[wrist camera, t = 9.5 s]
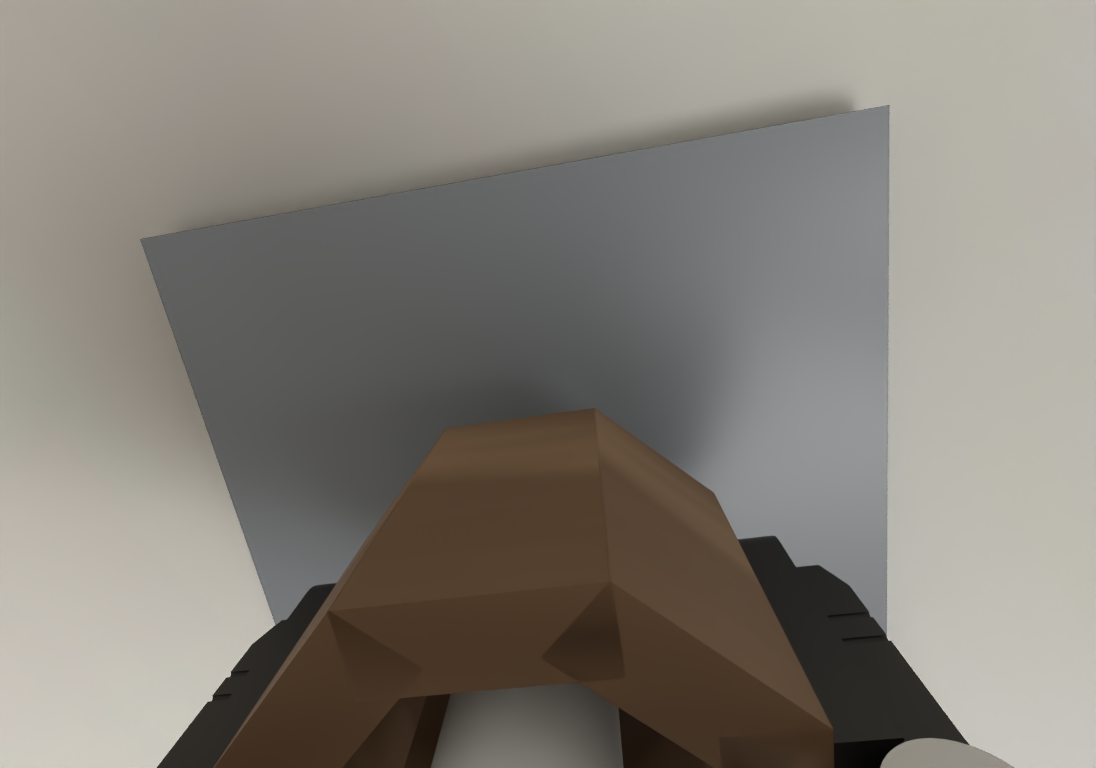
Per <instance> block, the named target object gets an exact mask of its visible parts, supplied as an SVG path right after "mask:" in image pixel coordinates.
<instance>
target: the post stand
mask: <svg viewBox="0 0 1096 768" xmlns="http://www.w3.org/2000/svg"><path fill="white" fill-rule="evenodd" d="M140 240H141V243H142V246H143V248H144V251H145V254H146V257H147V260H148V263H149V266H150V268H151V271H152V274H153V277H154V280H155V283H156V285H157V288H158V291H159V294H160V297H161V300H162V303H163V305H164V308H165V311H166V314H167V317H168V320H169V322H170V325H171V328H172V331H173V334H174V337H175V340H176V342H177V345H178V348H179V351H180V354H181V357H182V360H183V362H184V365H185V368H186V371H187V374H188V377H189V379H190V382H191V385H192V388H193V391H194V394H195V397H196V399H197V402H198V405H199V408H200V411H201V414H202V416H203V419H204V422H205V425H206V428H207V431H208V434H209V436H210V439H211V442H212V445H213V448H214V451H215V454H216V456H217V459H218V462H219V465H220V468H221V471H222V473H223V476H224V479H225V482H226V485H227V488H228V491H229V493H230V496H231V499H232V502H233V505H234V508H235V510H236V513H237V516H238V519H239V522H240V525H241V528H242V530H243V533H244V536H245V539H246V542H247V545H248V548H249V550H250V553H251V556H252V559H253V562H254V565H255V567H256V570H257V573H258V576H259V579H260V582H261V585H262V587H263V590H264V593H265V596H266V599H267V602H268V605H269V607H270V610H271V613H272V616H273V619H274V622H275V624H276V625H277V624H278V623H279V622H280V621H281V620H287V619H288V617H289V616H290V615H291V613H292V612H293V611H294V609H295V608H296V607H297V605H298V604H299V602H300V601H301V600H302V598H303V597H304V596H305V594H306V593H307V592H308V590H309V589H310V588H311V587H313V586H315V585H322V584H331V583H337V582H338V581H339V579H340V578H341V576H342V575H343V573H344V572H345V570H346V569H347V567H348V566H349V564H350V563H351V561H352V560H353V558H354V557H355V555H356V554H357V552H358V551H359V549H360V548H361V546H362V545H363V543H364V542H365V540H366V539H367V537H368V536H369V534H370V533H371V532H372V531H373V529H374V528H375V526H376V525H377V524H378V522H379V521H380V519H381V518H382V517H383V515H384V514H385V512H386V511H387V510H388V508H389V507H390V505H391V504H392V503H393V501H394V500H395V498H396V497H397V496H398V494H399V493H400V491H401V490H402V489H403V487H404V486H405V484H406V483H407V482H408V480H409V479H410V477H411V476H412V475H413V473H414V472H415V470H416V469H417V468H418V466H419V465H420V464H421V462H422V461H423V459H424V458H425V457H426V455H427V454H428V452H429V451H430V450H431V448H432V447H433V445H434V444H435V443H436V441H437V440H438V438H439V437H440V436H441V434H442V433H443V431H444V430H445V428H451V427H458V426H466V425H473V424H481V423H488V422H495V421H503V420H510V419H517V418H525V417H532V416H540V415H547V414H554V413H562V412H569V411H576V410H584V409H591V408H596V409H597V410H598V411H600V412H601V413H603V414H604V415H605V416H607V417H608V418H610V419H611V420H612V421H614V422H615V423H617V424H618V425H619V426H621V427H622V428H624V429H625V430H627V431H628V432H629V433H631V434H632V435H634V436H635V437H636V438H638V439H639V440H641V441H642V442H643V443H645V444H646V445H648V446H649V447H650V448H652V449H653V450H655V451H656V452H657V453H659V454H660V455H662V456H663V457H665V458H666V459H667V460H669V461H670V462H672V463H673V464H674V465H676V466H677V467H679V468H680V469H681V470H683V471H684V472H686V473H687V474H688V475H690V476H691V477H693V478H694V479H695V480H697V481H698V482H700V483H701V484H702V485H704V486H705V487H707V488H708V489H710V490H711V491H712V492H714V494H715V495H716V497H717V499H718V501H719V503H720V505H721V507H722V509H723V511H724V513H725V515H726V517H727V519H728V521H729V523H730V525H731V527H732V529H733V531H734V533H735V535H736V537H737V539H745V538H754V537H763V536H772V535H774V536H776V537H777V538H778V540H779V541H780V543H781V544H782V546H783V547H784V549H785V550H786V552H787V554H788V555H789V557H790V558H791V560H792V561H793V563H794V565H795V566H796V567H802V566H812V565H820V566H821V567H823V568H824V569H826V570H827V571H829V572H830V573H832V574H833V575H835V576H836V577H838V578H839V579H841V580H842V581H844V582H845V583H847V584H848V585H850V587H851V588H852V589H853V591H854V592H855V593H856V595H857V596H858V597H859V599H860V600H861V601H862V603H863V604H864V605H865V607H866V608H867V609H868V611H869V614H870V617H873V618H874V619H875V620H876V622H877V623H878V624H879V626H880V627H881V628H882V630H883V631H884V632H885V634H886V636H887V451H888V265H889V105H887V106H881V107H875V108H870V109H864V110H859V111H853V112H848V113H842V114H836V115H831V116H825V117H820V118H814V119H808V120H803V121H797V122H792V123H786V124H781V125H775V126H769V127H764V128H758V129H753V130H747V131H741V132H736V133H730V134H725V135H719V136H714V137H708V138H702V139H697V140H691V141H686V142H680V143H674V144H669V145H663V146H658V147H652V148H647V149H641V150H635V151H630V152H624V153H619V154H613V155H607V156H602V157H596V158H591V159H585V160H580V161H574V162H568V163H563V164H557V165H552V166H546V167H540V168H535V169H529V170H524V171H518V172H513V173H507V174H501V175H496V176H490V177H485V178H479V179H473V180H468V181H462V182H457V183H451V184H446V185H440V186H434V187H429V188H423V189H418V190H412V191H406V192H401V193H395V194H390V195H384V196H379V197H373V198H367V199H362V200H356V201H351V202H345V203H339V204H334V205H328V206H323V207H317V208H312V209H306V210H300V211H295V212H289V213H284V214H278V215H272V216H267V217H261V218H256V219H250V220H245V221H239V222H233V223H228V224H222V225H217V226H211V227H205V228H200V229H194V230H189V231H183V232H178V233H172V234H166V235H161V236H155V237H150V238H144V239H140ZM431 768H623V757H622V745H621V733H620V722H619V710H618V707H617V706H615V705H614V704H612V703H611V702H609V701H608V700H606V699H604V698H603V697H601V696H600V695H598V694H596V693H595V692H593V691H592V690H590V689H589V688H587V687H585V686H584V685H582V684H581V683H579V682H577V683H566V684H554V685H543V686H532V687H521V688H509V689H498V690H487V691H476V692H464V693H453V694H450V698H449V701H448V705H447V709H446V713H445V716H444V720H443V724H442V727H441V731H440V735H439V739H438V742H437V746H436V750H435V753H434V757H433V761H432V765H431Z"/></svg>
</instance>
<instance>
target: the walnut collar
mask: <svg viewBox="0 0 1096 768" xmlns="http://www.w3.org/2000/svg"><path fill="white" fill-rule="evenodd" d="M577 682H579V683H581V684H582V685H584V686H585V687H587V688H589V689H590V690H592V691H593V692H595V693H596V694H598V695H600V696H601V697H603V698H604V699H606V700H608V701H609V702H611V703H612V704H614V705H615V706H617V707H618V710H619V722H620V733H621V745H622V757H623V768H834V742H833V730H834V729H833V727H832V725H831V723H830V721H829V719H828V717H827V715H826V713H825V711H824V709H823V707H822V705H821V703H820V701H819V699H818V698H817V696H816V694H815V692H814V690H813V688H812V686H811V684H810V682H809V680H808V678H807V676H806V674H805V672H804V670H803V668H802V666H801V664H800V662H799V660H798V658H797V656H796V654H795V652H794V650H793V648H792V646H791V644H790V642H789V640H788V638H787V636H786V634H785V632H784V630H783V628H782V626H781V624H780V622H779V620H778V618H777V616H776V614H775V612H774V610H773V608H772V606H771V604H770V602H769V600H768V598H767V597H766V595H765V593H764V591H763V589H762V587H761V585H760V583H759V581H758V579H757V577H756V575H755V573H754V571H753V569H752V567H751V565H750V563H749V561H748V559H747V557H746V555H745V553H744V551H743V549H742V547H741V545H740V543H739V541H738V539H737V537H736V535H735V533H734V531H733V529H732V527H731V525H730V523H729V521H728V519H727V517H726V515H725V513H724V511H723V509H722V507H721V505H720V503H719V501H718V499H717V497H716V495H715V494H714V492H712V491H711V490H710V489H708V488H707V487H705V486H704V485H702V484H701V483H700V482H698V481H697V480H695V479H694V478H693V477H691V476H690V475H688V474H687V473H686V472H684V471H683V470H681V469H680V468H679V467H677V466H676V465H674V464H673V463H672V462H670V461H669V460H667V459H666V458H665V457H663V456H662V455H660V454H659V453H657V452H656V451H655V450H653V449H652V448H650V447H649V446H648V445H646V444H645V443H643V442H642V441H641V440H639V439H638V438H636V437H635V436H634V435H632V434H631V433H629V432H628V431H627V430H625V429H624V428H622V427H621V426H619V425H618V424H617V423H615V422H614V421H612V420H611V419H610V418H608V417H607V416H605V415H604V414H603V413H601V412H600V411H598V410H597V409H596V408H591V409H584V410H576V411H569V412H562V413H554V414H547V415H540V416H532V417H525V418H517V419H510V420H503V421H495V422H488V423H481V424H473V425H466V426H458V427H451V428H445V430H444V431H443V433H442V434H441V436H440V437H439V438H438V440H437V441H436V443H435V444H434V445H433V447H432V448H431V450H430V451H429V452H428V454H427V455H426V457H425V458H424V459H423V461H422V462H421V464H420V465H419V466H418V468H417V469H416V470H415V472H414V473H413V475H412V476H411V477H410V479H409V480H408V482H407V483H406V484H405V486H404V487H403V489H402V490H401V491H400V493H399V494H398V496H397V497H396V498H395V500H394V501H393V503H392V504H391V505H390V507H389V508H388V510H387V511H386V512H385V514H384V515H383V517H382V518H381V519H380V521H379V522H378V524H377V525H376V526H375V528H374V529H373V531H372V532H371V533H370V534H369V536H368V537H367V539H366V540H365V542H364V543H363V545H362V546H361V548H360V549H359V551H358V552H357V554H356V555H355V557H354V558H353V560H352V561H351V563H350V564H349V566H348V567H347V569H346V570H345V572H344V573H343V575H342V576H341V578H340V579H339V581H338V582H337V584H336V585H335V587H334V588H333V590H332V591H331V593H330V594H329V595H328V597H327V598H326V600H325V601H324V603H323V604H322V606H321V607H320V609H319V610H318V612H317V613H316V615H315V616H314V618H313V619H312V621H311V622H310V624H309V625H308V627H307V628H306V630H305V631H304V633H303V634H302V636H301V637H300V639H299V640H298V642H297V643H296V645H295V646H294V648H293V649H292V651H291V652H290V654H289V655H288V657H287V658H286V660H285V661H284V663H283V664H282V666H281V667H280V669H279V670H278V672H277V673H276V675H275V676H274V678H273V679H272V681H271V682H270V684H269V685H268V687H267V688H266V689H265V691H264V692H263V694H262V695H261V697H260V698H259V700H258V701H257V703H256V704H255V706H254V707H253V709H252V710H251V712H250V713H249V715H248V716H247V718H246V719H245V721H244V722H243V724H242V725H241V727H240V728H239V730H238V731H237V733H236V734H235V736H234V737H233V739H232V740H231V742H230V743H229V745H228V746H227V748H226V749H225V751H224V752H223V754H222V755H221V757H220V758H219V760H218V761H217V763H216V764H215V766H214V767H213V768H431V765H432V761H433V757H434V753H435V750H436V746H437V742H438V739H439V735H440V731H441V727H442V724H443V720H444V716H445V713H446V709H447V705H448V701H449V698H450V694H453V693H464V692H476V691H487V690H498V689H509V688H521V687H532V686H543V685H554V684H566V683H577Z"/></svg>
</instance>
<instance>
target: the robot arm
mask: <svg viewBox="0 0 1096 768" xmlns="http://www.w3.org/2000/svg"><path fill="white" fill-rule="evenodd" d="M738 541H739V543H740V545H741V547H742V549H743V551H744V553H745V555H746V557H747V559H748V561H749V563H750V565H751V567H752V569H753V571H754V573H755V575H756V577H757V579H758V581H759V583H760V585H761V587H762V589H763V591H764V593H765V595H766V597H767V598H768V600H769V602H770V604H771V606H772V608H773V610H774V612H775V614H776V616H777V618H778V620H779V622H780V624H781V626H782V628H783V630H784V632H785V634H786V636H787V638H788V640H789V642H790V644H791V646H792V648H793V650H794V652H795V654H796V656H797V658H798V660H799V662H800V664H801V666H802V668H803V670H804V672H805V674H806V676H807V678H808V680H809V682H810V684H811V686H812V688H813V690H814V692H815V694H816V696H817V698H818V699H819V701H820V703H821V705H822V707H823V709H824V711H825V713H826V715H827V717H828V719H829V721H830V723H831V725H832V727H833V729H834V730H833V742H834V768H1014V767H1012V766H1011V765H1009V764H1008V763H1006V762H1005V761H1003V760H1001V759H999V758H997V757H995V756H994V755H992V754H990V753H987V752H985V751H983V750H980V749H978V748H976V747H973V746H970V745H969V744H968V742H967V741H966V740H965V739H964V738H963V736H962V735H961V734H960V732H959V731H958V730H957V728H956V727H955V726H954V724H953V723H952V722H951V720H950V719H949V718H948V716H947V715H946V714H945V712H944V711H943V710H942V708H941V707H940V706H939V704H938V703H937V702H936V700H935V699H934V698H933V696H932V695H931V694H930V692H929V691H928V690H927V688H926V687H925V686H924V684H923V683H922V682H921V680H920V679H919V678H918V676H917V675H916V674H915V672H914V671H913V670H912V668H911V667H910V666H909V664H908V663H907V662H906V660H905V659H904V658H903V656H902V655H901V654H900V652H899V651H898V650H897V648H896V647H895V646H894V644H893V643H892V642H891V641H888V639H887V636H886V634H885V632H884V631H883V630H882V628H881V627H880V626H879V624H878V623H877V622H876V620H875V619H874V618H873V617H870V614H869V611H868V609H867V608H866V607H865V605H864V604H863V603H862V601H861V600H860V599H859V597H858V596H857V595H856V593H855V592H854V591H853V589H852V588H851V587H850V585H848V584H847V583H845V582H844V581H842V580H841V579H839V578H838V577H836V576H835V575H833V574H832V573H830V572H829V571H827V570H826V569H824V568H823V567H821V566H820V565H812V566H802V567H796V566H795V565H794V563H793V561H792V560H791V558H790V557H789V555H788V554H787V552H786V550H785V549H784V547H783V546H782V544H781V543H780V541H779V540H778V538H777V537H776V536H774V535H772V536H763V537H754V538H745V539H738ZM336 584H337V583H331V584H322V585H315V586H313V587H311V588H310V589H309V590H308V592H307V593H306V594H305V596H304V597H303V598H302V600H301V601H300V602H299V604H298V605H297V607H296V608H295V609H294V611H293V612H292V613H291V615H290V616H289V617H288V619H287V620H281V621H280V622H279V623H278V624H277V625H275V626H274V627H273V628H272V629H270V630H269V631H268V632H267V633H266V634H264V635H263V636H262V637H261V638H259V639H258V640H257V641H256V642H255V643H253V644H252V645H251V647H250V648H249V649H248V651H247V652H246V653H245V654H244V656H243V657H242V658H241V660H240V661H239V662H238V663H237V665H236V666H235V667H234V669H233V670H232V671H231V677H227V678H226V679H225V680H224V682H223V683H222V684H221V685H220V687H219V688H218V689H217V691H216V692H215V693H214V694H213V700H212V701H211V702H207V704H206V705H205V706H204V707H203V709H202V710H201V711H200V713H199V714H198V715H197V716H196V718H195V719H194V720H193V722H192V723H191V724H190V725H189V727H188V728H187V729H186V731H185V732H184V733H183V735H182V736H181V737H180V738H179V740H178V741H177V742H176V744H175V745H174V746H173V747H172V749H171V750H170V751H169V753H168V754H167V755H166V757H165V758H164V759H163V760H162V762H161V763H160V764H159V766H158V767H157V768H213V767H214V766H215V764H216V763H217V761H218V760H219V758H220V757H221V755H222V754H223V752H224V751H225V749H226V748H227V746H228V745H229V743H230V742H231V740H232V739H233V737H234V736H235V734H236V733H237V731H238V730H239V728H240V727H241V725H242V724H243V722H244V721H245V719H246V718H247V716H248V715H249V713H250V712H251V710H252V709H253V707H254V706H255V704H256V703H257V701H258V700H259V698H260V697H261V695H262V694H263V692H264V691H265V689H266V688H267V687H268V685H269V684H270V682H271V681H272V679H273V678H274V676H275V675H276V673H277V672H278V670H279V669H280V667H281V666H282V664H283V663H284V661H285V660H286V658H287V657H288V655H289V654H290V652H291V651H292V649H293V648H294V646H295V645H296V643H297V642H298V640H299V639H300V637H301V636H302V634H303V633H304V631H305V630H306V628H307V627H308V625H309V624H310V622H311V621H312V619H313V618H314V616H315V615H316V613H317V612H318V610H319V609H320V607H321V606H322V604H323V603H324V601H325V600H326V598H327V597H328V595H329V594H330V593H331V591H332V590H333V588H334V587H335V585H336Z"/></svg>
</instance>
